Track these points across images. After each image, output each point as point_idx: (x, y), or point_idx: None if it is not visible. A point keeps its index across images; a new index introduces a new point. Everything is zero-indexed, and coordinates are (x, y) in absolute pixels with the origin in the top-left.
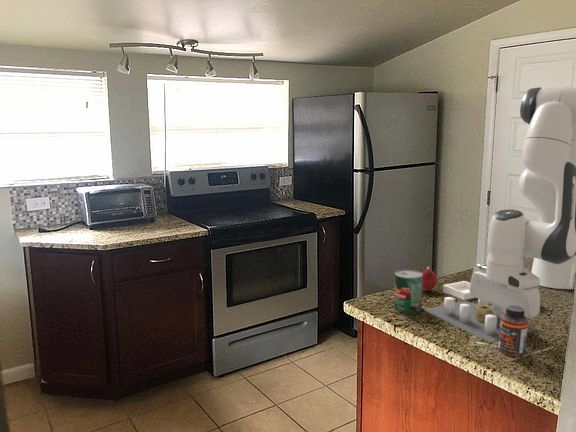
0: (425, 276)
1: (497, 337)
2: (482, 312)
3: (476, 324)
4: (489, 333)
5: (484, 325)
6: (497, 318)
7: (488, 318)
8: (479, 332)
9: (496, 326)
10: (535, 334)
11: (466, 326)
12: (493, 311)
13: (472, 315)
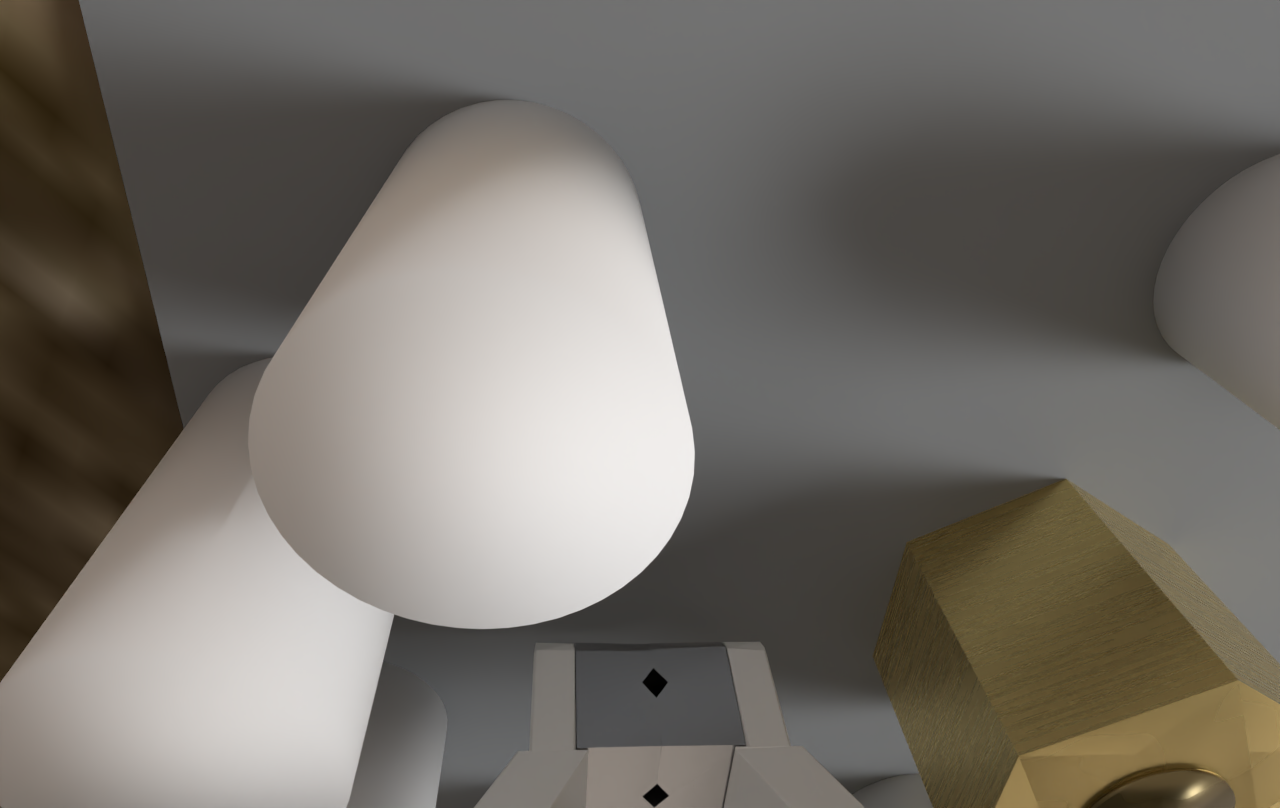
0: None
1: (235, 175)
2: (1079, 662)
3: (986, 339)
4: (430, 136)
5: (848, 431)
6: (684, 694)
7: (402, 265)
8: (664, 24)
9: (680, 563)
10: None
11: (1096, 42)
12: (836, 805)
13: (1245, 575)
